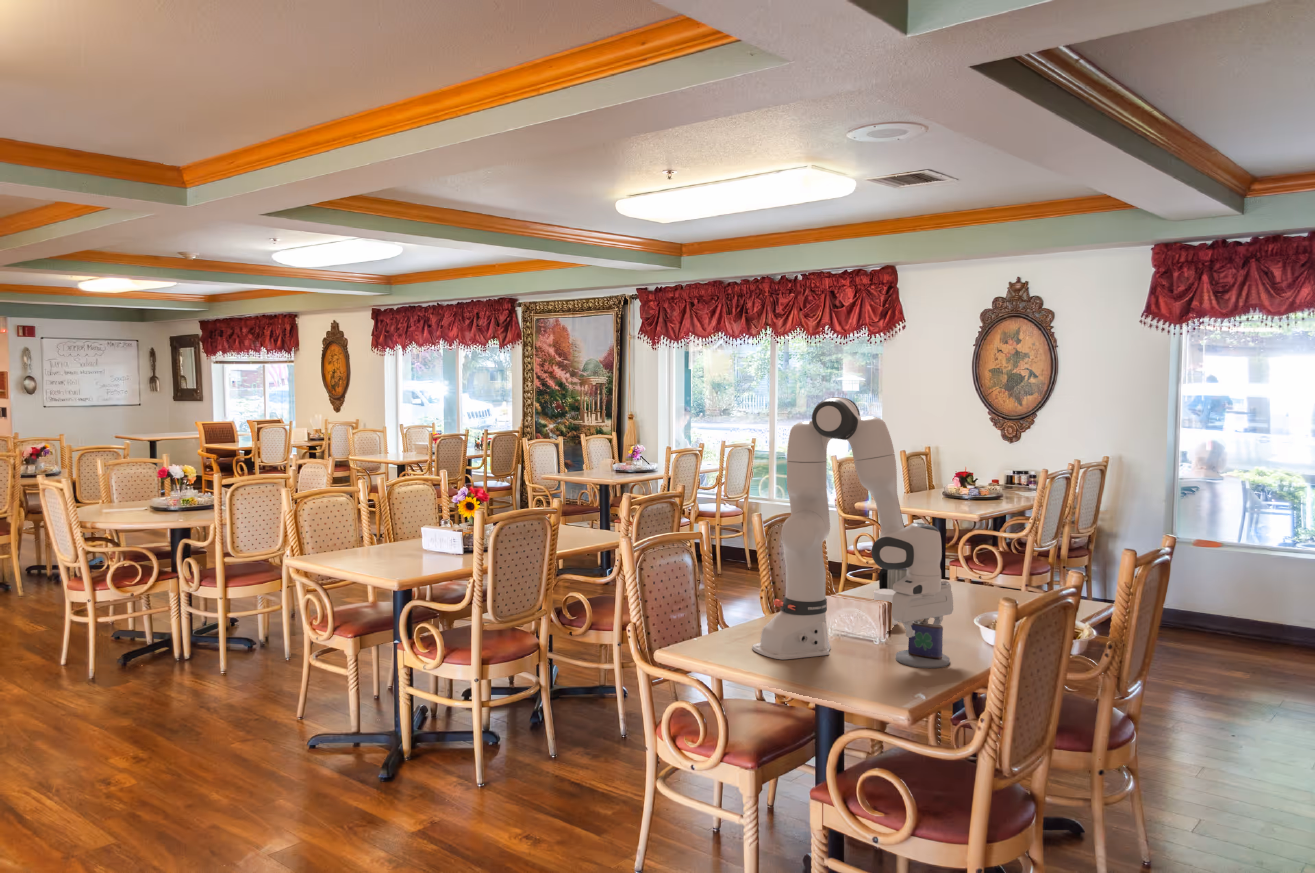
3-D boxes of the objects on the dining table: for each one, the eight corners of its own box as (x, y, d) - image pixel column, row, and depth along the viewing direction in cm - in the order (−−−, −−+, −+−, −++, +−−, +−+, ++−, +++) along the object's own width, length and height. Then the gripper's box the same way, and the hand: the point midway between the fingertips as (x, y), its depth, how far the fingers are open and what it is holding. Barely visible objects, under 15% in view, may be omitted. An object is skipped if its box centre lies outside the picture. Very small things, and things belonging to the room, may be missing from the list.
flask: (943, 658, 247) (944, 618, 246) (939, 660, 244) (940, 620, 244) (910, 652, 252) (910, 613, 251) (906, 654, 250) (906, 615, 249)
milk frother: (919, 610, 305) (920, 565, 305) (895, 618, 294) (896, 572, 293) (881, 603, 315) (882, 560, 314) (857, 610, 304) (857, 566, 303)
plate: (924, 671, 238) (924, 667, 238) (884, 657, 250) (884, 654, 250) (960, 663, 246) (961, 659, 246) (920, 650, 258) (920, 646, 258)
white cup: (899, 626, 283) (900, 594, 283) (873, 625, 285) (874, 593, 284) (898, 620, 291) (899, 589, 290) (873, 619, 293) (873, 588, 292)
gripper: (941, 577, 255) (940, 626, 256) (888, 585, 244) (887, 636, 245) (959, 581, 250) (958, 631, 250) (906, 589, 239) (904, 642, 240)
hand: (922, 634), depth 248 cm, fingers open, 8 cm apart
